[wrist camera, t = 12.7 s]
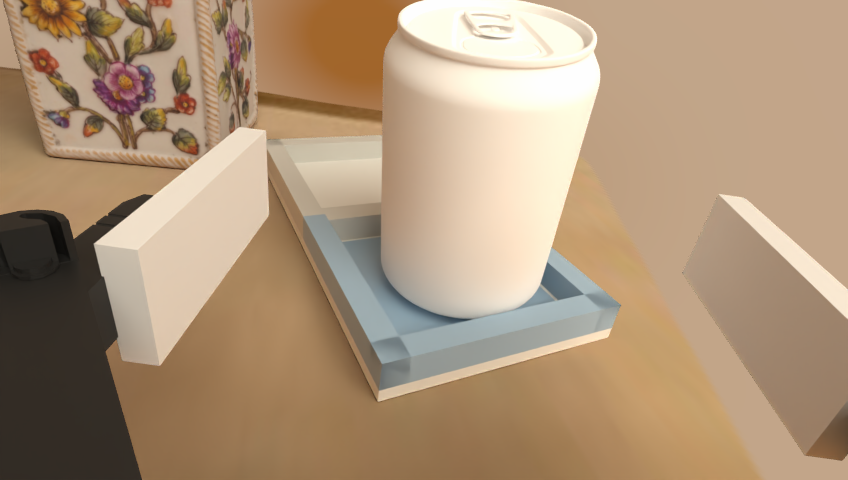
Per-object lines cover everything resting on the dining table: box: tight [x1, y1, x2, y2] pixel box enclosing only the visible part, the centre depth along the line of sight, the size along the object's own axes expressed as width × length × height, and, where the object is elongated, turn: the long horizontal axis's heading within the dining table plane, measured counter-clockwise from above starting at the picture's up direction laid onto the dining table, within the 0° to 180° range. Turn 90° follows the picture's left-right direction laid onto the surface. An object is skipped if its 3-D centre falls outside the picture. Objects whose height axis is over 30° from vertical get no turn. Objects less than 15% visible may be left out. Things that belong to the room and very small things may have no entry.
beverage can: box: [381, 0, 600, 319], centre depth 22 cm, size 8×8×12 cm
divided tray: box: [266, 135, 621, 402], centre depth 30 cm, size 23×12×2 cm, turn 26°
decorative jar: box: [3, 0, 258, 169], centre depth 34 cm, size 12×12×18 cm
